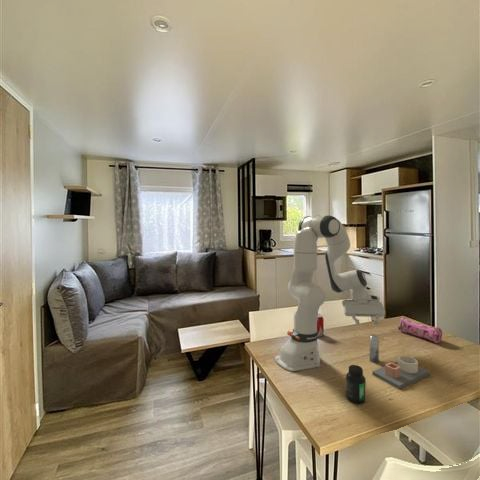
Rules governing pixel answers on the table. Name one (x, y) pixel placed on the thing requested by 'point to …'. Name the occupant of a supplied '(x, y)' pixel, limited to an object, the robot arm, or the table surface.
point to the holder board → (401, 372)
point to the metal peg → (374, 348)
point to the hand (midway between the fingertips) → (367, 323)
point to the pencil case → (421, 330)
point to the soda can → (320, 325)
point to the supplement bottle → (355, 385)
